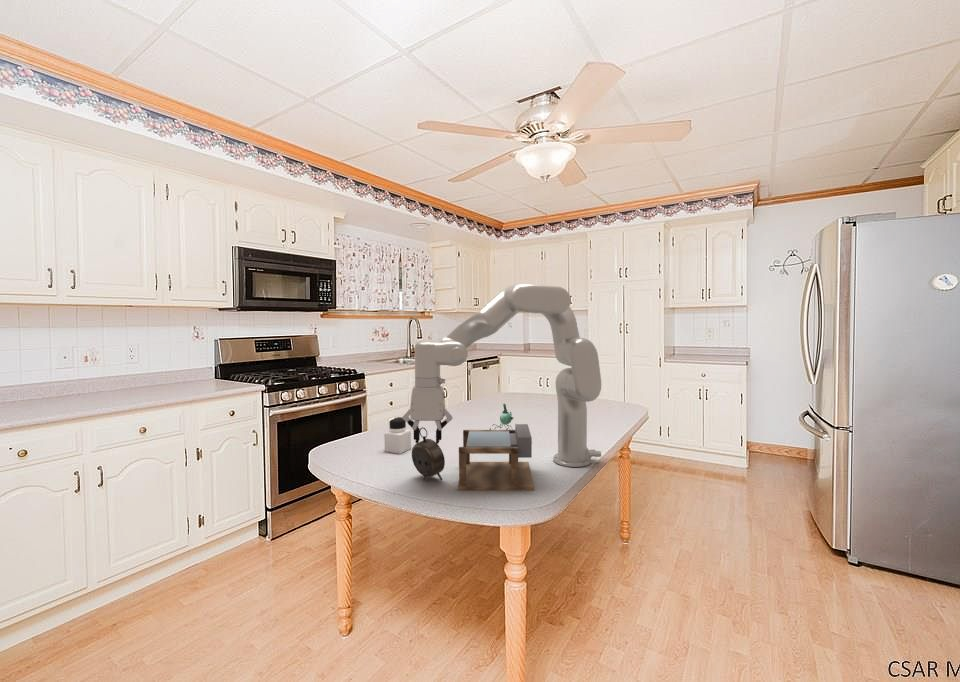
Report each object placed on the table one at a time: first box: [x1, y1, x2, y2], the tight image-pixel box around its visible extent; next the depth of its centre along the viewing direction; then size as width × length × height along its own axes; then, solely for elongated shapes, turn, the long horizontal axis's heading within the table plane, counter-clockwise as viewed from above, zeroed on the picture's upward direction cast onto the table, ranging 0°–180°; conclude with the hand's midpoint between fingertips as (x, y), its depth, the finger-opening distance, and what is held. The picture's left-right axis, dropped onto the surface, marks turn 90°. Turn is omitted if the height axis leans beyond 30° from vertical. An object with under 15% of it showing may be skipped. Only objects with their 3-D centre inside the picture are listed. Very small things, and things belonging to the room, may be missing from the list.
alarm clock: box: [411, 427, 446, 482], centre depth 135 cm, size 11×5×16 cm, turn 47°
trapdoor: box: [466, 423, 533, 459], centre depth 137 cm, size 19×16×6 cm
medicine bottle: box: [383, 416, 412, 455], centre depth 165 cm, size 7×7×12 cm
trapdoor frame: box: [456, 429, 535, 491], centre depth 138 cm, size 22×21×12 cm
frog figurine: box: [489, 403, 515, 430], centre depth 181 cm, size 10×18×15 cm, turn 101°
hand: (427, 441), depth 134 cm, fingers closed on alarm clock, 5 cm apart
